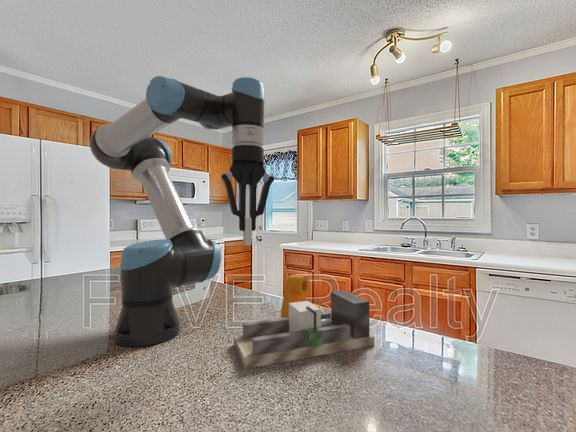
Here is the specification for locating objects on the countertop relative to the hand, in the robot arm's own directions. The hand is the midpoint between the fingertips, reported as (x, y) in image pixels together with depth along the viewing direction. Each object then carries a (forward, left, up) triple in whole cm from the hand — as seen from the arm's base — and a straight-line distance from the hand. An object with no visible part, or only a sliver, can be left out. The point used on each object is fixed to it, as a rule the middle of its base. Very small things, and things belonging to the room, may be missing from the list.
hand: (247, 244), depth 77 cm
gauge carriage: (+13, -10, -21) cm, 26 cm away
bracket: (+18, +9, -23) cm, 31 cm away
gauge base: (+11, -9, -23) cm, 27 cm away
